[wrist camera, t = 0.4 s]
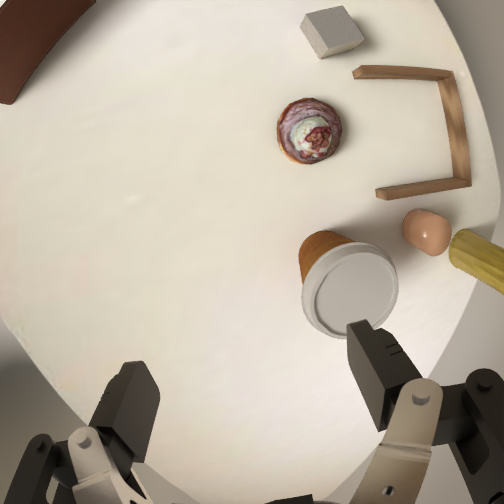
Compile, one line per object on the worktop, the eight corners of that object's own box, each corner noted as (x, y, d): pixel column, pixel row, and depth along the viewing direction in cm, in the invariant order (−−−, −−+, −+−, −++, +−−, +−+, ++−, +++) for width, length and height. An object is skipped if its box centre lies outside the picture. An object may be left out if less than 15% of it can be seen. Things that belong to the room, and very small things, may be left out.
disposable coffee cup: (370, 236, 35) (419, 270, 24) (336, 299, 38) (368, 353, 26) (306, 204, 34) (337, 228, 22) (272, 274, 36) (284, 326, 25)
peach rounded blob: (400, 211, 34) (421, 220, 29) (429, 206, 34) (451, 213, 29) (402, 247, 36) (421, 260, 31) (431, 240, 35) (451, 251, 31)
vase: (443, 265, 37) (505, 307, 23) (453, 225, 35) (521, 256, 21) (468, 268, 37) (526, 306, 23) (478, 232, 35) (541, 262, 22)
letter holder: (98, 1, 23) (49, -43, 10) (12, 106, 27) (-54, 101, 14) (69, -18, 21) (25, -54, 8) (-8, 77, 25) (-65, 69, 11)
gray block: (299, 27, 27) (305, 14, 23) (333, 18, 26) (342, 5, 22) (319, 59, 28) (328, 48, 24) (352, 49, 28) (364, 38, 24)
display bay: (352, 71, 28) (361, 65, 26) (440, 75, 28) (452, 71, 25) (376, 196, 33) (387, 200, 31) (458, 183, 33) (471, 186, 30)
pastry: (297, 176, 33) (306, 179, 28) (260, 122, 31) (263, 116, 26) (351, 141, 31) (368, 139, 27) (316, 89, 29) (328, 78, 25)
